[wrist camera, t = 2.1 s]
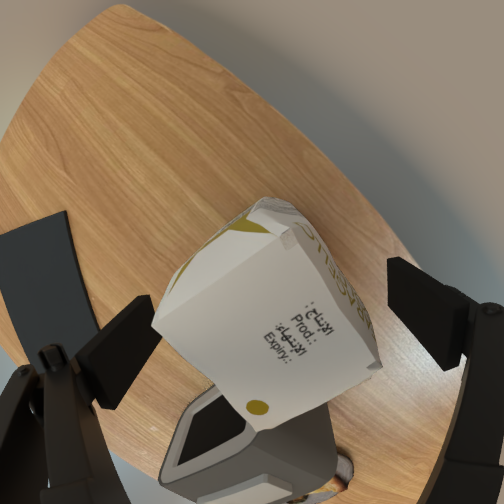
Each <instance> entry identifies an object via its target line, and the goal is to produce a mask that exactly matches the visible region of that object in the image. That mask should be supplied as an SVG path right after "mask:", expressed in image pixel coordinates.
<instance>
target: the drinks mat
mask: <svg viewBox="0 0 504 504" xmlns="http://www.w3.org/2000/svg"><path fill="white" fill-rule="evenodd" d="M0 290H1V293H2V296H3V299H4V302H5V305H6V308H7V310H8V313H9V316H10V318H11V321H12V324H13V326H14V329H15V331H16V333H17V336H18V338H19V340H20V343H21V345H22V347H23V349H24V352H25V354H26V356H27V358H28V360H29V362H30V364H31V365H33V366H34V367H35V369H36V371H37V373H38V374H41V373H45V370H44V368H43V366H42V364H41V362H40V360H39V358H38V356H37V353H38V351H39V350H40V349H41V348H43V347H44V346H46V345H49V344H52V343H62V345H63V347H64V350H65V352H66V354H67V356H68V359H69V361H70V360H71V359H72V358H73V357H74V355H75V354H76V353H77V352H78V351H79V350H80V349H81V348H82V347H83V346H84V345H86V344H87V343H88V342H89V341H90V340H91V339H92V338H93V337H94V336H95V335H96V334H97V333H98V332H99V331H100V329H99V326H98V323H97V321H96V318H95V315H94V312H93V309H92V307H91V304H90V301H89V298H88V294H87V291H86V288H85V285H84V282H83V278H82V275H81V271H80V268H79V264H78V260H77V257H76V253H75V249H74V245H73V241H72V236H71V232H70V227H69V222H68V218H67V212H66V211H62V212H59V213H56V214H53V215H51V216H48V217H45V218H42V219H40V220H37V221H34V222H32V223H29V224H27V225H24V226H22V227H19V228H17V229H14V230H12V231H9V232H7V233H5V234H2V235H0Z"/></svg>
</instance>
